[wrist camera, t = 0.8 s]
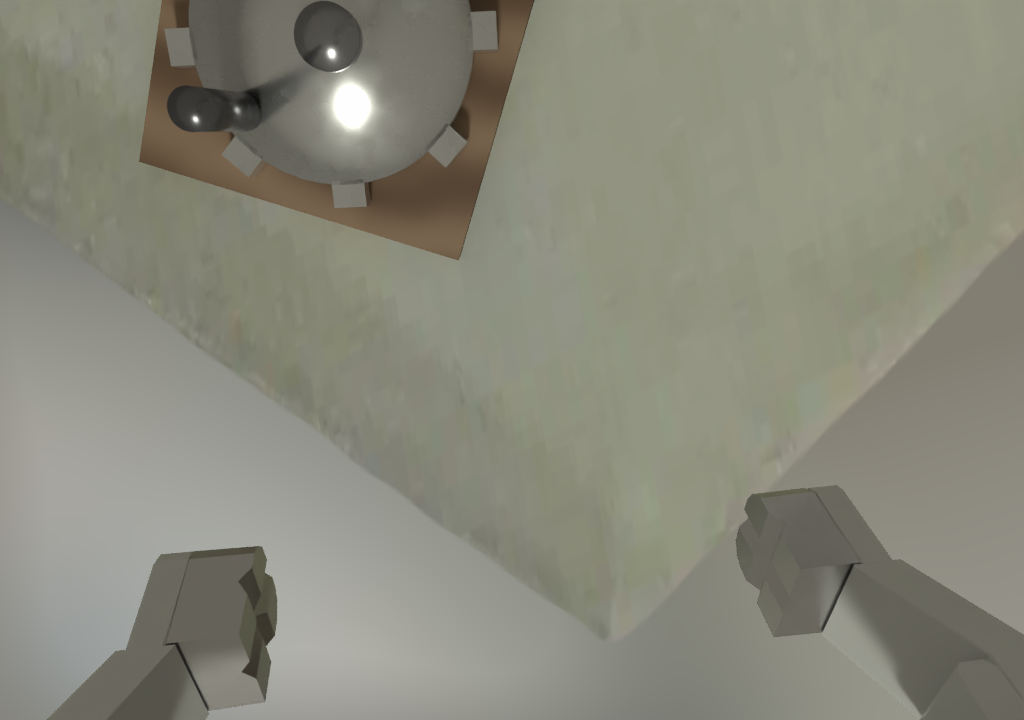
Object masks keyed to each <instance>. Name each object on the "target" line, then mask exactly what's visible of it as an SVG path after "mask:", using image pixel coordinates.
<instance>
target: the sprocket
mask: <svg viewBox="0 0 1024 720" xmlns="http://www.w3.org/2000/svg"><path fill="white" fill-rule="evenodd" d="M164 30H165V35H166V41H167V46H168V52H169V57H170V63H171V66H172V67H178V68H196V69H197V73H198V75H199V78H200V80H201V83H202V85H203V87H196V86H188V85H184V86H179V87H177V88H175V89H174V90H173V91H172V92H171V93H170V95H169V97H168V100H167V111H168V114H169V117H170V118H171V120H172V122H173V123H174V124H175V125H176V126H177V127H179V128H180V129H182V130H184V131H188V132H232V133H233V134H234V135H235V137H234V138H233V140H232V141H231V142H230V144H229V145H228V146H227V148H226V149H225V150H224V152H223V153H222V155H223V156H224V157H225V158H226V159H227V160H229V161H230V162H231V163H232V164H233V165H234V166H236V167H237V168H238V169H239V170H240V171H241V172H243V173H244V174H245V175H246V176H247V177H253V176H257V174H258V173H259V172H260V170H261V169H262V168H263V167H264V165H265V164H266V163H268V164H270V165H272V166H274V167H276V168H278V169H280V170H281V171H283V172H285V173H288V174H291V175H293V176H296V177H298V178H301V179H305V180H309V181H313V182H317V183H324V184H332V192H333V200H334V208H349V207H367V206H369V205H371V198H370V189H369V182H371V181H374V180H378V179H381V178H384V177H387V176H390V175H393V174H395V173H397V172H399V171H401V170H403V169H405V168H407V167H409V166H410V165H412V164H413V163H415V162H416V161H418V160H419V159H421V158H422V157H423V156H424V155H426V154H427V153H428V152H429V153H430V154H431V155H432V156H433V157H434V158H436V159H437V160H438V161H439V162H440V163H441V164H442V165H443V166H444V167H445V168H446V167H448V166H449V165H450V164H451V162H452V161H453V160H454V159H455V158H456V156H457V155H458V154H459V153H460V152H461V151H462V149H463V148H464V147H465V146H466V145H467V144H468V142H469V141H468V140H467V139H465V138H464V137H463V136H462V135H461V134H460V133H459V132H458V131H457V130H456V129H455V128H454V127H453V126H452V123H453V122H454V120H455V119H456V117H457V115H458V113H459V111H460V109H461V106H462V104H463V102H464V99H465V96H466V93H467V90H468V88H469V84H470V79H471V74H472V70H473V62H474V53H478V52H497V51H498V34H497V14H496V11H481V12H471V7H470V3H469V0H190V1H189V28H171V29H164Z"/></svg>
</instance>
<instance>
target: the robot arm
mask: <svg viewBox="0 0 1024 720" xmlns="http://www.w3.org/2000/svg"><path fill="white" fill-rule="evenodd" d="M744 510H745V512H746V514H747V515H748V517H749V518H748V519H747V520H746V521H745V522H744V523H743V524H742V525H740V526H739V529H738V533H737V538H736V547H737V557H738V560H739V564H740V567H741V570H742V572H743V574H744V576H745V578H746V580H747V581H748V582H750V583H751V584H752V585H754V586H755V587H756V588H758V589H759V590H760V594H759V597H758V602H757V603H758V606H759V608H760V610H761V612H762V614H763V616H764V618H765V620H766V622H767V624H768V626H769V628H770V630H771V632H772V634H773V636H774V637H780V636H790V635H800V634H810V633H819V632H823V633H822V636H824V637H825V638H826V639H827V640H828V641H829V642H830V643H831V644H833V645H834V646H835V647H836V648H837V649H838V650H839V651H841V652H842V653H843V654H844V655H845V656H846V657H848V658H849V659H850V660H851V661H852V662H853V663H854V664H855V665H857V666H858V667H859V668H860V669H861V670H862V671H863V672H865V673H866V674H867V675H868V676H869V677H871V678H872V679H873V680H874V681H875V682H876V683H877V684H879V685H880V686H881V687H882V688H883V689H884V690H885V691H886V692H888V693H889V694H890V695H891V696H892V697H893V698H894V699H896V700H897V701H898V702H899V703H900V704H901V705H902V706H904V707H905V708H906V709H907V710H908V711H909V712H910V713H912V714H913V715H914V716H915V717H916V718H917V719H919V720H1024V635H1023V634H1021V633H1020V632H1018V631H1017V630H1015V629H1013V628H1012V627H1010V626H1008V625H1007V624H1005V623H1004V622H1002V621H1000V620H999V619H997V618H995V617H994V616H992V615H991V614H988V613H987V612H986V611H984V610H982V609H981V608H979V607H978V606H976V605H974V604H973V603H971V602H969V601H968V600H966V599H964V598H963V597H961V596H960V595H958V594H956V593H955V592H953V591H951V590H950V589H948V588H946V587H945V586H943V585H941V584H940V583H938V582H936V581H935V580H933V579H932V578H930V577H929V576H927V575H925V574H923V573H922V572H920V571H919V570H917V569H915V568H914V567H912V566H910V565H909V564H907V563H905V562H904V561H902V560H892V559H891V558H890V556H889V555H888V553H887V552H886V551H885V549H884V547H883V546H882V545H881V543H880V542H879V540H878V539H877V538H876V536H875V535H874V533H873V532H872V531H871V529H870V528H869V526H868V525H867V523H866V522H865V521H864V519H863V518H862V516H861V515H860V513H859V512H858V510H857V509H856V508H855V506H854V505H853V503H852V502H851V500H850V499H849V498H848V496H847V495H846V494H845V492H844V491H843V489H841V488H840V487H838V486H837V485H835V486H825V487H816V488H808V489H805V488H801V489H792V490H785V491H775V492H766V493H758V494H752V495H751V496H750V497H749V498H748V499H747V502H746V505H745V509H744ZM266 561H267V559H266V556H265V554H264V551H263V548H262V547H260V546H256V547H243V548H230V549H219V550H205V551H194V552H183V553H172V554H161V555H160V557H159V558H158V559H157V561H156V562H155V564H154V565H153V568H152V571H151V574H150V577H149V580H148V583H147V587H146V589H145V593H144V596H143V599H142V602H141V605H140V608H139V611H138V614H137V617H136V621H135V623H134V626H133V629H132V632H131V636H130V639H129V642H128V645H127V648H126V650H121V651H115V652H114V653H113V654H112V655H111V656H110V657H109V658H108V659H107V660H106V661H105V662H104V663H103V664H102V666H101V667H99V668H98V669H97V670H96V671H95V672H94V673H93V674H92V675H91V676H90V677H89V679H87V680H86V681H85V682H84V683H83V684H82V685H81V686H80V687H79V688H78V689H77V690H76V691H75V692H74V693H73V694H72V695H71V696H70V697H69V698H68V699H67V700H66V701H65V702H64V703H63V704H62V705H61V706H60V707H59V708H58V709H57V710H56V711H55V712H54V713H53V714H52V715H51V716H50V717H49V718H48V719H47V720H205V719H206V718H207V716H208V715H209V713H208V711H210V710H217V709H223V708H230V707H236V706H243V705H249V704H255V703H262V702H265V700H266V693H267V686H268V678H269V673H270V666H271V660H270V657H269V654H268V651H267V648H266V646H267V644H268V643H269V642H270V641H271V640H272V638H273V637H274V636H275V631H276V623H277V596H276V589H275V585H274V581H273V578H272V577H271V576H269V575H268V574H266V573H265V568H266Z"/></svg>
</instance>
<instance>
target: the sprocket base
mask: <svg viewBox="0 0 1024 720" xmlns="http://www.w3.org/2000/svg"><path fill="white" fill-rule="evenodd" d="M189 1H190V0H162V4H161V11H160V19H159V26H158V33H157V40H156V47H155V54H154V61H153V68H152V75H151V82H150V89H149V96H148V103H147V110H146V118H145V125H144V132H143V139H142V146H141V153H140V160H139V162H142V163H145V164H149V165H152V166H155V167H158V168H162V169H165V170H168V171H171V172H174V173H178V174H181V175H184V176H187V177H191V178H194V179H197V180H200V181H204V182H207V183H210V184H213V185H216V186H220V187H223V188H226V189H229V190H233V191H236V192H239V193H242V194H246V195H249V196H252V197H255V198H259V199H262V200H265V201H268V202H271V203H275V204H278V205H281V206H284V207H288V208H291V209H294V210H297V211H301V212H304V213H307V214H310V215H313V216H317V217H320V218H323V219H326V220H330V221H333V222H336V223H339V224H343V225H346V226H349V227H352V228H355V229H359V230H362V231H365V232H368V233H372V234H375V235H378V236H381V237H385V238H388V239H391V240H394V241H398V242H401V243H404V244H407V245H410V246H414V247H417V248H420V249H423V250H427V251H430V252H433V253H436V254H440V255H443V256H446V257H449V258H452V259H456V260H459V258H460V255H461V252H462V248H463V245H464V241H465V238H466V235H467V231H468V228H469V224H470V221H471V217H472V214H473V210H474V207H475V203H476V200H477V196H478V193H479V190H480V186H481V183H482V179H483V176H484V172H485V169H486V165H487V162H488V158H489V155H490V151H491V148H492V145H493V141H494V138H495V134H496V131H497V127H498V124H499V120H500V117H501V113H502V110H503V107H504V103H505V100H506V96H507V93H508V89H509V86H510V82H511V79H512V75H513V72H514V68H515V65H516V62H517V58H518V55H519V51H520V48H521V44H522V41H523V37H524V34H525V30H526V27H527V23H528V20H529V17H530V13H531V10H532V6H533V3H534V0H469V3H470V7H471V12H481V11H496V14H497V34H498V51H497V52H478V53H474V62H473V70H472V74H471V79H470V84H469V88H468V90H467V93H466V96H465V99H464V102H463V104H462V106H461V109H460V111H459V113H458V115H457V117H456V119H455V120H454V122H453V123H452V126H453V127H454V128H455V129H456V130H457V131H458V132H459V133H460V134H461V135H462V136H463V137H464V138H465V139H467V140H468V141H469V142H468V144H467V145H466V146H465V147H464V148H463V149H462V151H461V152H460V153H459V154H458V155H457V156H456V158H455V159H454V160H453V161H452V162H451V164H450V165H449V166H448V167H446V168H445V167H444V166H443V165H442V164H441V163H440V162H439V161H438V160H437V159H436V158H434V157H433V156H432V155H431V154H430V153H429V152H428V153H427V154H426V155H424V156H423V157H422V158H421V159H419V160H418V161H416V162H415V163H413V164H412V165H410V166H409V167H407V168H405V169H403V170H401V171H399V172H397V173H395V174H393V175H390V176H387V177H384V178H381V179H378V180H374V181H371V182H369V189H370V198H371V205H369V206H367V207H349V208H334V200H333V192H332V184H324V183H317V182H313V181H309V180H305V179H301V178H298V177H296V176H293V175H291V174H288V173H285V172H283V171H281V170H280V169H278V168H276V167H274V166H272V165H270V164H268V163H266V164H265V165H264V167H263V168H262V169H261V170H260V172H259V173H258V174H257V176H253V177H247V176H246V175H245V174H244V173H243V172H241V171H240V170H239V169H238V168H237V167H236V166H234V165H233V164H232V163H231V162H230V161H229V160H227V159H226V158H225V157H224V156H223V155H222V153H223V152H224V150H225V149H226V148H227V146H228V145H229V144H230V142H231V141H232V140H233V138H234V137H235V135H234V134H233V133H232V132H188V131H184V130H182V129H180V128H179V127H177V126H176V125H175V124H174V123H173V122H172V120H171V118H170V117H169V114H168V111H167V100H168V97H169V95H170V93H171V92H172V91H173V90H174V89H175V88H177V87H179V86H184V85H188V86H196V87H203V85H202V83H201V80H200V78H199V75H198V73H197V69H196V68H178V67H172V66H171V63H170V57H169V52H168V46H167V41H166V35H165V30H164V29H171V28H189Z"/></svg>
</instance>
